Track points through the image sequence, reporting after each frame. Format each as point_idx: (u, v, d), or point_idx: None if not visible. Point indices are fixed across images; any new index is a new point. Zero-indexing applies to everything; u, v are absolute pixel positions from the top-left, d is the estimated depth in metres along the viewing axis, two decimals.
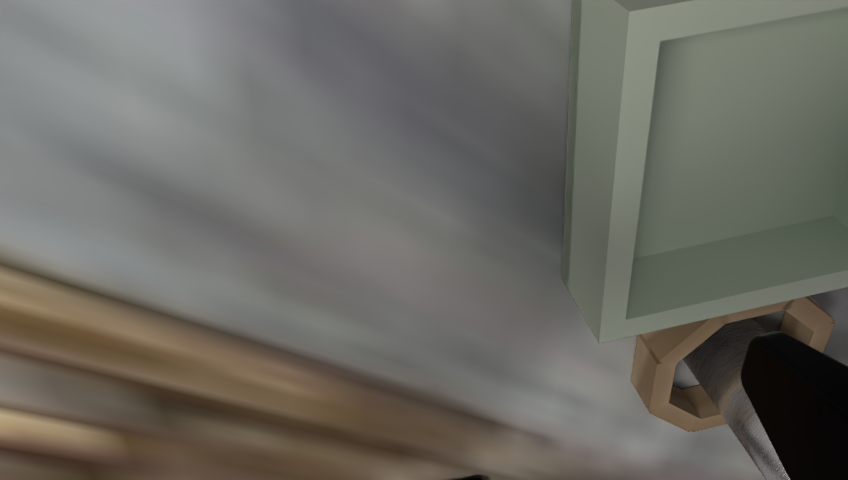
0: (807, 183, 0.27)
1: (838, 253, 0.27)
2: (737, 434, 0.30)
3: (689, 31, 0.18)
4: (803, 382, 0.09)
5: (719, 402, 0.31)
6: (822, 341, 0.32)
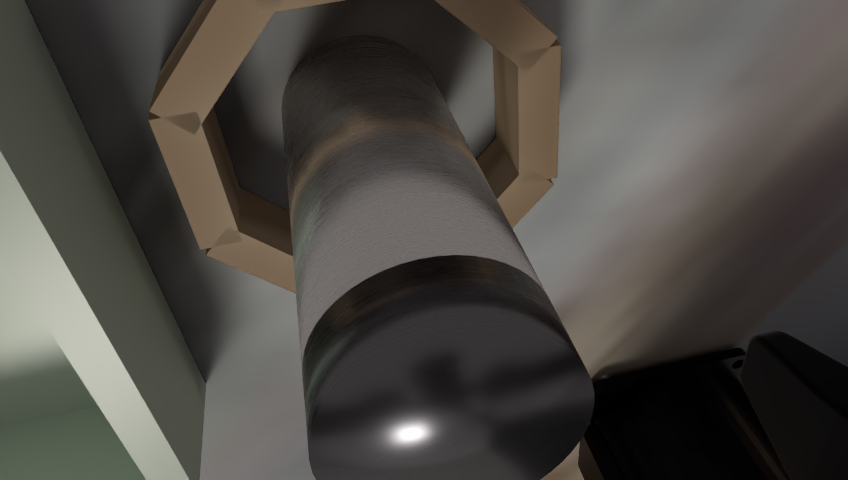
0: None
1: None
2: None
3: None
4: (803, 382, 0.09)
5: None
6: None
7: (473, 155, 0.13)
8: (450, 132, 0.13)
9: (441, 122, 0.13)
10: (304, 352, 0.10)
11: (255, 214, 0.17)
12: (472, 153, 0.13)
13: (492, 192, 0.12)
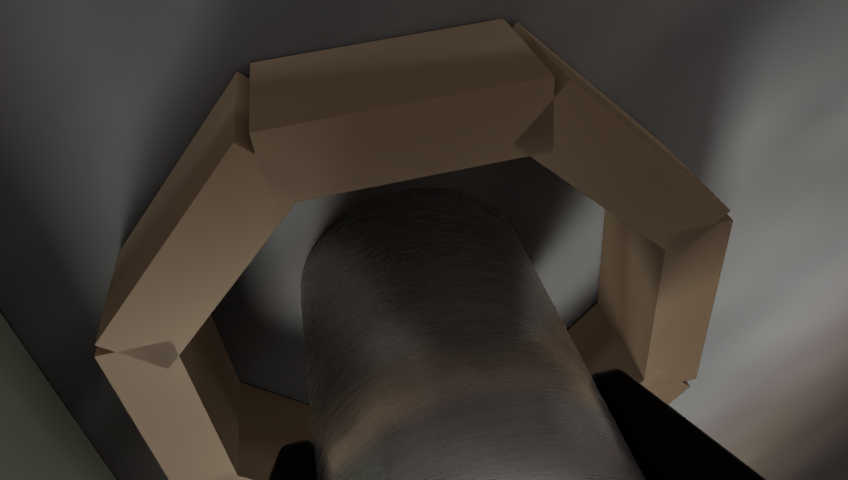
0: None
1: None
2: None
3: None
4: (626, 425, 0.08)
5: None
6: (363, 137, 0.08)
7: (620, 432, 0.08)
8: (589, 408, 0.08)
9: (572, 386, 0.08)
10: None
11: (262, 429, 0.12)
12: None
13: None
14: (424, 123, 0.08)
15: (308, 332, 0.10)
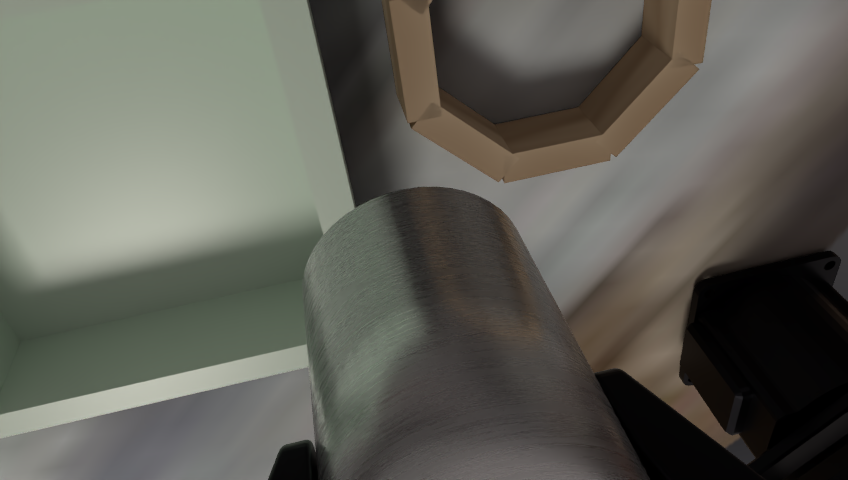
0: (193, 23, 0.17)
1: None
2: None
3: None
4: (626, 425, 0.08)
5: None
6: None
7: (623, 429, 0.08)
8: (593, 405, 0.08)
9: (575, 383, 0.08)
10: None
11: (444, 99, 0.20)
12: (620, 423, 0.08)
13: None
14: None
15: (310, 330, 0.10)
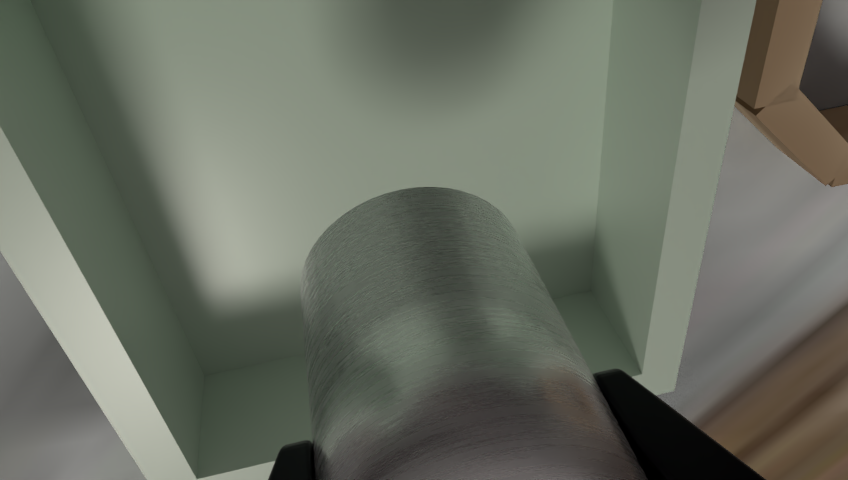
0: None
1: None
2: None
3: (179, 458, 0.15)
4: (626, 425, 0.08)
5: None
6: None
7: (621, 430, 0.08)
8: (591, 406, 0.08)
9: (573, 384, 0.08)
10: None
11: None
12: (618, 424, 0.08)
13: None
14: None
15: (308, 330, 0.10)
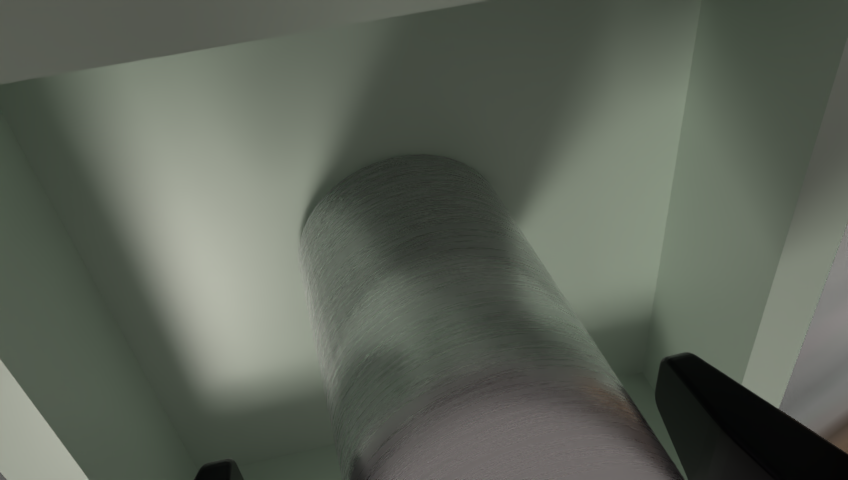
0: (580, 24, 0.11)
1: (792, 30, 0.09)
2: None
3: None
4: (704, 406, 0.08)
5: None
6: None
7: None
8: (578, 335, 0.09)
9: (561, 318, 0.09)
10: None
11: None
12: None
13: (659, 442, 0.08)
14: None
15: (311, 290, 0.11)
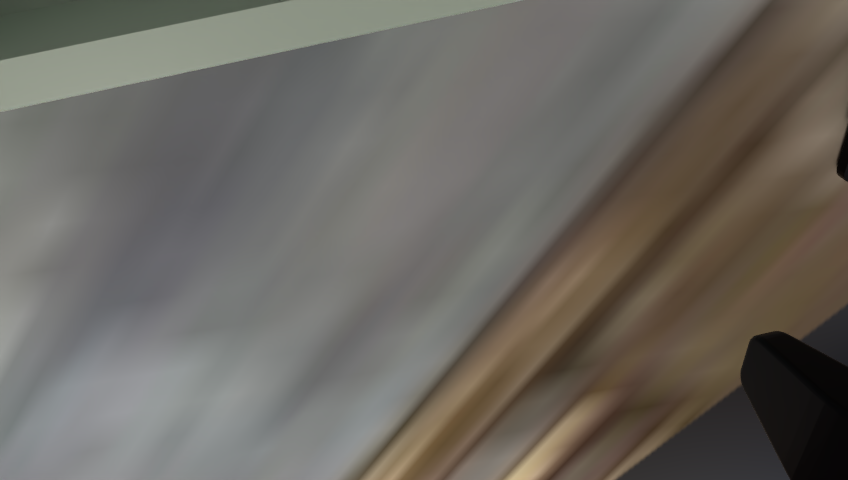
0: None
1: None
2: None
3: None
4: (803, 382, 0.09)
5: None
6: None
7: None
8: None
9: None
10: None
11: None
12: None
13: None
14: None
15: None
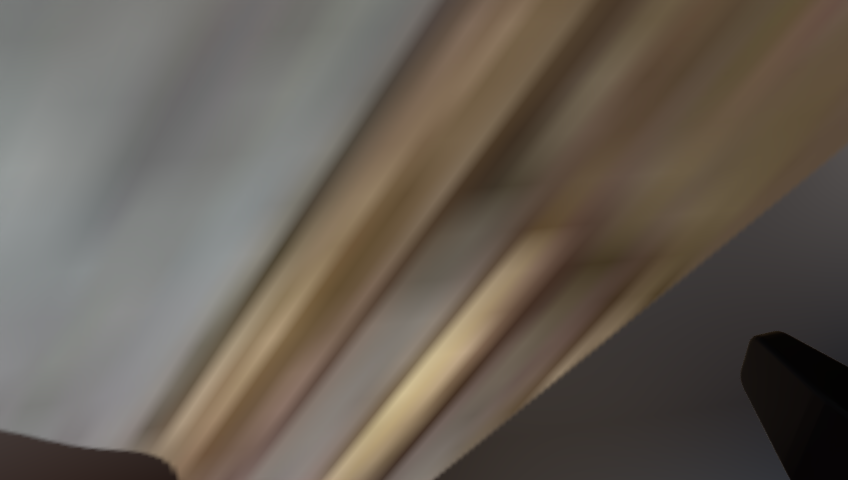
0: None
1: None
2: None
3: None
4: (803, 382, 0.09)
5: None
6: None
7: None
8: None
9: None
10: None
11: None
12: None
13: None
14: None
15: None
